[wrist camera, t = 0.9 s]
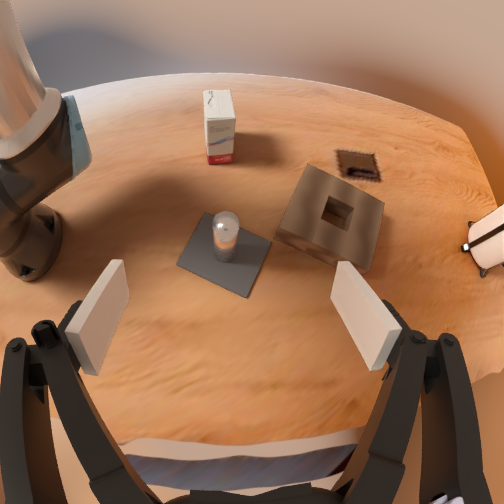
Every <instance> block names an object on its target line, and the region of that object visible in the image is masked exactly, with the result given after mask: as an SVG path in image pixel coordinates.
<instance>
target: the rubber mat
mask: <svg viewBox="0 0 504 504" xmlns="http://www.w3.org/2000/svg"><path fill="white" fill-rule="evenodd" d="M214 217H215V216H213V215H210V214H208V213H205V214H204V216H203V218H202V219H201V221H200V223H199V225H198V226H197V228H196V230H195V231H194V233H193V235H192V237H191V238H190V240H189V242H188V244H187V246H186V247H185V249H184V251H183V253H182V254H181V256H180V258H179V260H178V262H177V264H176V265H178V266H180V267H182V268H184V269H186V270H188V271H190V272H192V273H194V274H196V275H198V276H200V277H202V278H204V279H206V280H208V281H211V282H213V283H215V284H217V285H219V286H221V287H223V288H225V289H227V290H229V291H232V292H234V293H236V294H238V295H240V296H242V297H244V298H246V297H247V295H248V293H249V291H250V288H251V286H252V284H253V282H254V280H255V278H256V275H257V273H258V271H259V269H260V267H261V265H262V262H263V260H264V258H265V256H266V254H267V251H268V249H269V247H270V245H271V243H272V242H270V241H268V240H266V239H263V238H261V237H259V236H257V235H255V234H253V233H250V232H248V231H246V230H244V229H242V228H239V230H238V236H237V243H236V249H235V255H234V258H233V259H232V260H231V261H230V262H227V263H223V262H220V261H218V260H217V259H216V257H215V254H214V238H213V219H214Z"/></svg>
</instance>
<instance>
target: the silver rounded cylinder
mask: <svg viewBox="0 0 504 504" xmlns="http://www.w3.org/2000/svg"><path fill="white" fill-rule="evenodd" d="M238 230H239V219H238V217H237V216H236V215H235V214H234V213H232V212H229V211H223V212H220V213H218V214H217V215H216V216H215V217H214V219H213V238H214V254H215V257H216V259H217V260H218V261H220V262H223V263H227V262H230V261H231V260H232V259H233V258H234V255H235V249H236V243H237V236H238Z"/></svg>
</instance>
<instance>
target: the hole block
mask: <svg viewBox="0 0 504 504" xmlns="http://www.w3.org/2000/svg"><path fill="white" fill-rule="evenodd" d="M384 204H385V203H384V202H382V201H380V200H378V199H377V198H375V197H373V196H371V195H369V194H368V193H366V192H364V191H362V190H360V189H358V188H356V187H354V186H353V185H351V184H349V183H347V182H345V181H343V180H341V179H339V178H337V177H335V176H333V175H331V174H329V173H327V172H325V171H323V170H321V169H318V168H316V167H314V166H312V165H310V164H308V163H307V165H306V167H305V169H304V171H303V173H302V176H301V178H300V180H299V182H298V185H297V187H296V189H295V191H294V194H293V196H292V198H291V200H290V203H289V205H288V207H287V209H286V212H285V214H284V216H283V218H282V220H281V223H280V225H279V227H278V229H277V231H276V234H275V236H274V239H277V240H279V241H281V242H283V243H285V244H287V245H290V246H292V247H294V248H296V249H298V250H300V251H302V252H305V253H307V254H309V255H311V256H313V257H315V258H317V259H319V260H321V261H324V262H326V263H328V264H330V265H332V266H334V267H336V268H337V265H338V261H349V262H350V263H351V264H352V265H353V266H354V268H355V269H356V270H357V271H358V272H359V274H360V275H363V274H364V273H366V272H368V271H370V267H371V263H372V259H373V255H374V251H375V247H376V243H377V238H378V234H379V229H380V225H381V220H382V215H383V209H384ZM324 210H326V211H328V212H330V213H332V214H334V215H336V216H338V217H340V218H342V219H344V222H343V226H342V229H341V228H339V227H337V226H335V225H333V224H331V223H329V222H327V221H325V220H322V219H321V216H322V213H323V211H324Z"/></svg>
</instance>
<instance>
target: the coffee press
mask: <svg viewBox="0 0 504 504" xmlns="http://www.w3.org/2000/svg"><path fill="white" fill-rule="evenodd" d="M472 222H473V221H469V222H468V226H469V227H470V230H469V234H468V241H469V243H468V244H465V245H462V246H461V249H462V252H465V251H471V253H472V256H473V258H474V260H475V261H476V263H477V264H478V265H479V266H480V267H482V269H481V272H480V276H481V277H486V275H487V273H488V272H489V271H490V270H491V269H493V268H495V267H497V266H500V265H503V267H504V204H503V205H501V206H500V207H498V208H497V209H495V210H494V211H492V212H491V213H489V214H488V215H486V216H485V217H483V218H482V219H480V220H479V221H477V222H473V223H475V224H473V225H472V226H471V223H472ZM484 269H488V270H487V271H486V272H485V274H484V276H483V271H484Z"/></svg>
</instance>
